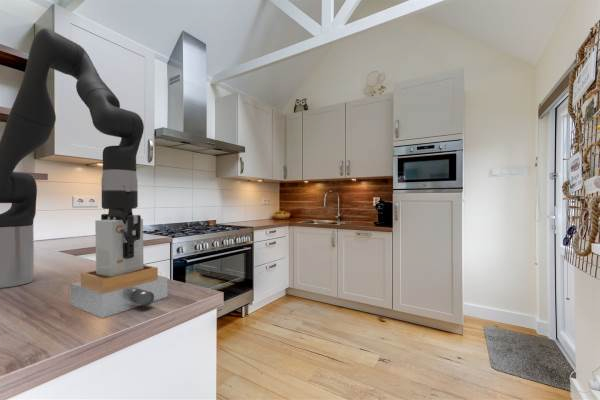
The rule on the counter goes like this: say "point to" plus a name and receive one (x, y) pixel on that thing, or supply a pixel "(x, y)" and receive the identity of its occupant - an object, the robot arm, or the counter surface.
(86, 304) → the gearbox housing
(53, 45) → the robot arm
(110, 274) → the small box
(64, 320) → the counter surface
